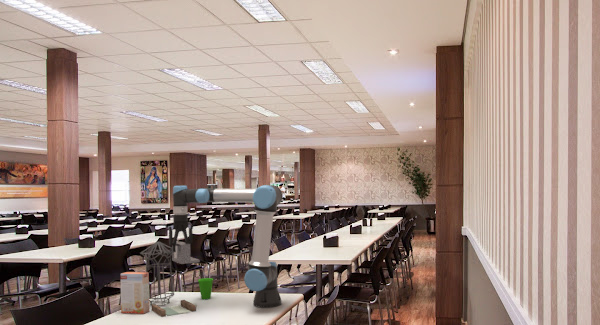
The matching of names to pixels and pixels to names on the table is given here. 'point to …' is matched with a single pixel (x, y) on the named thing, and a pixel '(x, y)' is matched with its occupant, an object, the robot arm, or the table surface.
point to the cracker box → (135, 292)
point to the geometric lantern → (159, 270)
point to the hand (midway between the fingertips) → (181, 257)
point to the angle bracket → (183, 254)
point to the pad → (175, 310)
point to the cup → (205, 287)
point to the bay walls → (184, 304)
